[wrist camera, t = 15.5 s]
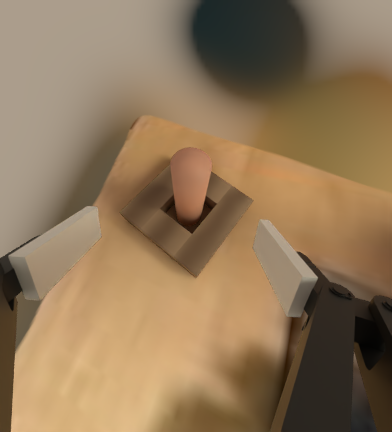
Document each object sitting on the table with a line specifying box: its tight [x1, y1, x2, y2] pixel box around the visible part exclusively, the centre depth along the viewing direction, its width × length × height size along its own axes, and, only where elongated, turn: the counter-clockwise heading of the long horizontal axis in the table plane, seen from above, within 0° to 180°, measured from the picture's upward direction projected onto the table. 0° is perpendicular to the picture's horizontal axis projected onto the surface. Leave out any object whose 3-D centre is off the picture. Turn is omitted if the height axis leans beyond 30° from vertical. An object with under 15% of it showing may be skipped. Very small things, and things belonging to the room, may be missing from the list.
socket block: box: [120, 164, 254, 277], centre depth 28 cm, size 14×14×3 cm
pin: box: [170, 148, 212, 226], centre depth 23 cm, size 4×4×13 cm
